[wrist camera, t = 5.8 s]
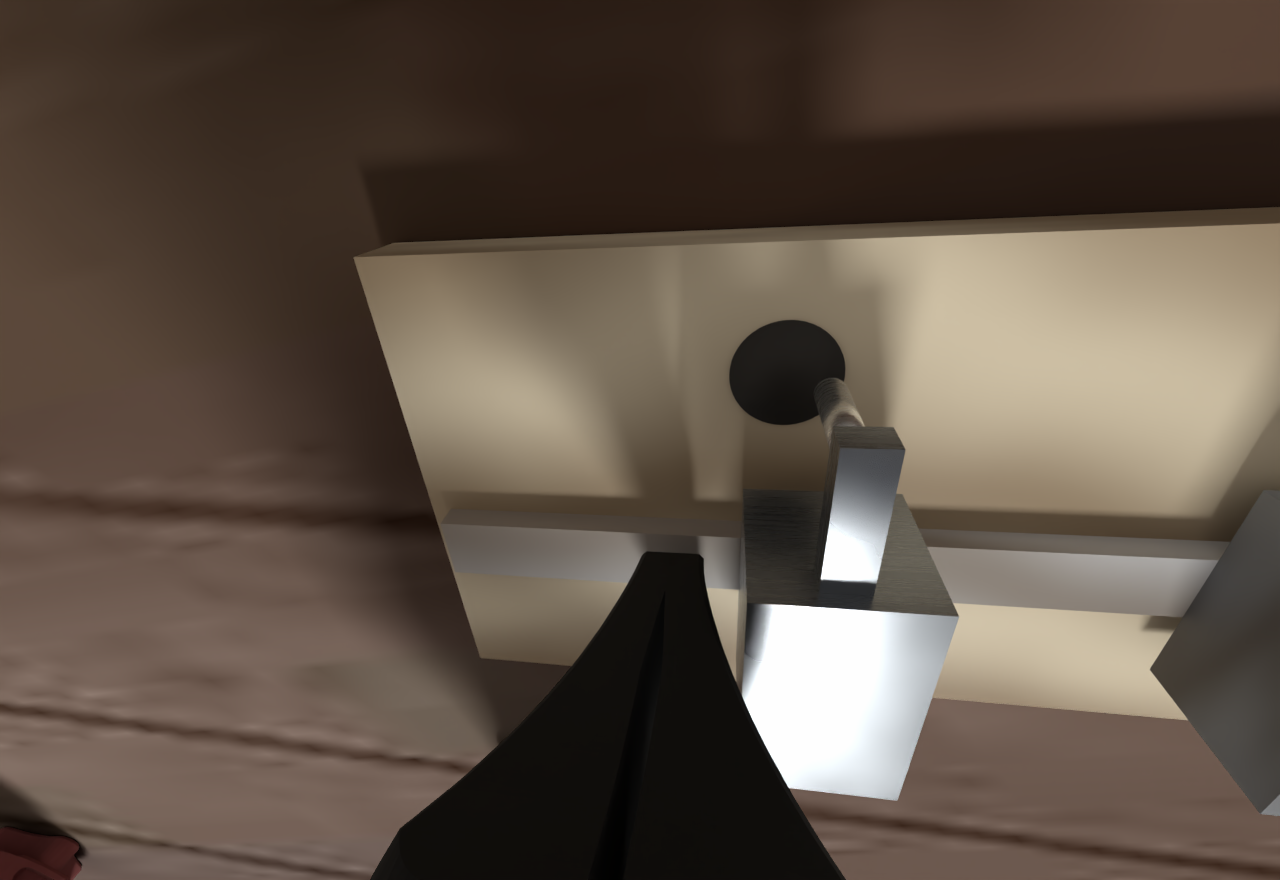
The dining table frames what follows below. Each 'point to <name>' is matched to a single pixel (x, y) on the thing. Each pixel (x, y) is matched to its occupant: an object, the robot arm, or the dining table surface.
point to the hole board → (885, 397)
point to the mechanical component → (37, 856)
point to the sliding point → (840, 615)
